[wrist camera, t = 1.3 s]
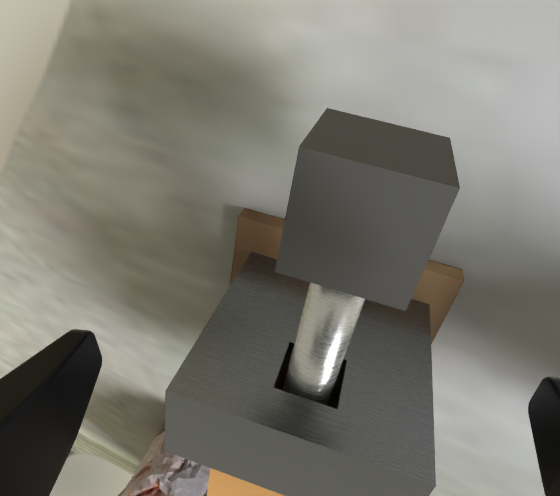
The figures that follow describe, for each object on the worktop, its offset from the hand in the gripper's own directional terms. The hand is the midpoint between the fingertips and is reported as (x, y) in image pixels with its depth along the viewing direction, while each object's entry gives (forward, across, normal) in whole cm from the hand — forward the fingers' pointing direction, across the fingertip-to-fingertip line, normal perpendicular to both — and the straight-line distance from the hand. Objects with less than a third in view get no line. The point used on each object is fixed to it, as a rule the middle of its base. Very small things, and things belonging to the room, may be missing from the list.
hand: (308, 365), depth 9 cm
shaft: (+8, -1, +8) cm, 11 cm away
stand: (+13, -1, +13) cm, 19 cm away
